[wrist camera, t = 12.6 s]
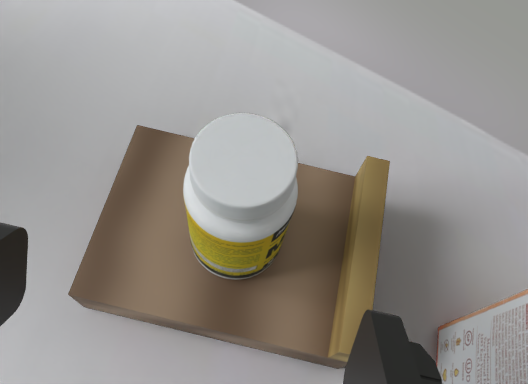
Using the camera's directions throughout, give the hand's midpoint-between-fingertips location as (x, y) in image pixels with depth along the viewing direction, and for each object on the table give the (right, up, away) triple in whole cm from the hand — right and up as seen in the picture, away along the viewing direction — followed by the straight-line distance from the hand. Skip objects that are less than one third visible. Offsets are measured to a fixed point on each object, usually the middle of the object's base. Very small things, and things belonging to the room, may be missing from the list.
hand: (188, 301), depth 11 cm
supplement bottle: (0, 0, +14) cm, 14 cm away
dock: (0, -1, +16) cm, 16 cm away
